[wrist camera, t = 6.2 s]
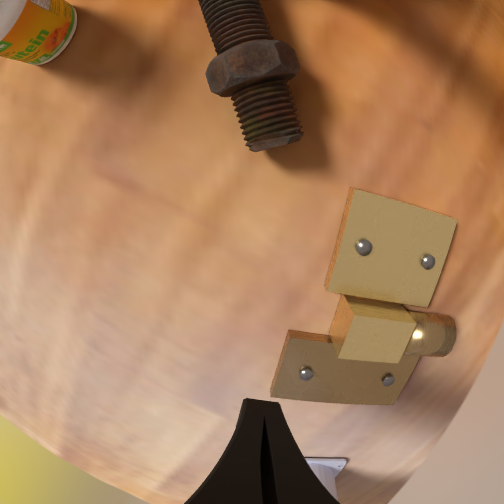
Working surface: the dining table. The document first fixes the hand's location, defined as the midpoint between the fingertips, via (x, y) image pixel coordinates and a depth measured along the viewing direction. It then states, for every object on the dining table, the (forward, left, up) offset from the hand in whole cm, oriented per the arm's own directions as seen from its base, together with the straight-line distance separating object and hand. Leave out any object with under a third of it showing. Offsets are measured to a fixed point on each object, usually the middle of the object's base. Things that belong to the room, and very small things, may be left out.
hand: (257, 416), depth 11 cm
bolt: (+17, +5, -11) cm, 20 cm away
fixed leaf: (-3, -8, -10) cm, 14 cm away
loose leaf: (+3, -8, -10) cm, 13 cm away
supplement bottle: (+17, +19, -11) cm, 28 cm away
